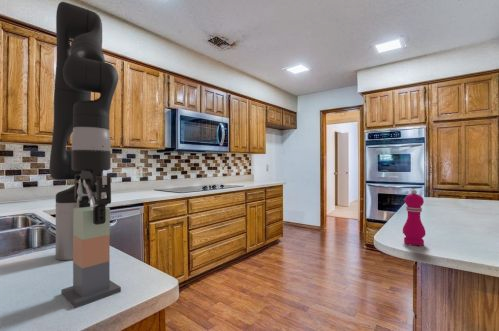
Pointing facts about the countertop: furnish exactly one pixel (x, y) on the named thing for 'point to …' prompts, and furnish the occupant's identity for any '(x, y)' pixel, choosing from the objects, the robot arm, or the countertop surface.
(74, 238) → the brick terracotta
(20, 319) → the countertop surface
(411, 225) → the pepper mill
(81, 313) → the countertop surface
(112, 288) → the tower base
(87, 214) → the brick sage
